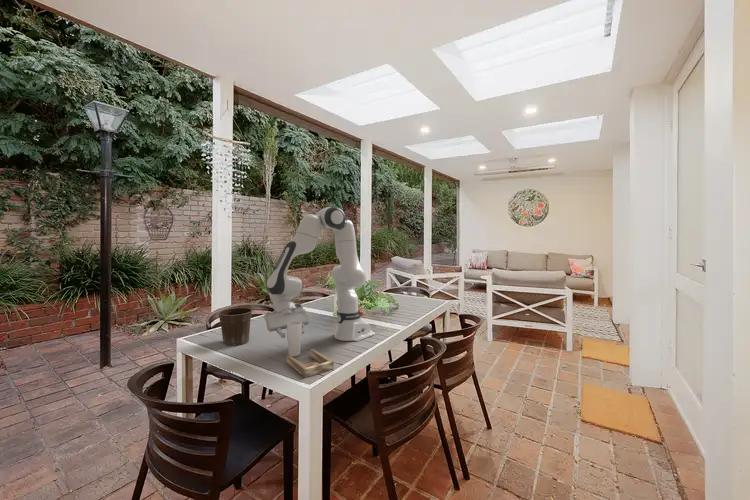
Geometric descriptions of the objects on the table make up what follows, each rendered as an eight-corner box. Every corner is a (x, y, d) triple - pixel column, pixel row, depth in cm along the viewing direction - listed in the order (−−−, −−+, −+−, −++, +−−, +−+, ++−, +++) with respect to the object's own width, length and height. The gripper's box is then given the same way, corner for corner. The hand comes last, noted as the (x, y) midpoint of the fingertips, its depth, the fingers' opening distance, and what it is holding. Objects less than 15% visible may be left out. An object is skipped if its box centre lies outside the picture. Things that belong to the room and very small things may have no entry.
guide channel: (313, 355, 145) (313, 349, 145) (333, 368, 132) (333, 361, 132) (286, 362, 137) (286, 355, 137) (305, 377, 123) (305, 369, 123)
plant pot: (210, 344, 157) (210, 313, 156) (236, 335, 172) (235, 306, 171) (235, 349, 151) (235, 316, 150) (259, 339, 166) (259, 309, 165)
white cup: (283, 356, 144) (283, 324, 143) (292, 351, 150) (292, 320, 149) (296, 358, 141) (296, 325, 140) (304, 353, 148) (304, 321, 147)
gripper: (264, 309, 144) (273, 336, 137) (305, 303, 157) (314, 327, 150) (261, 317, 148) (269, 343, 141) (301, 310, 161) (310, 334, 154)
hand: (293, 335), depth 146 cm, fingers open, 8 cm apart
